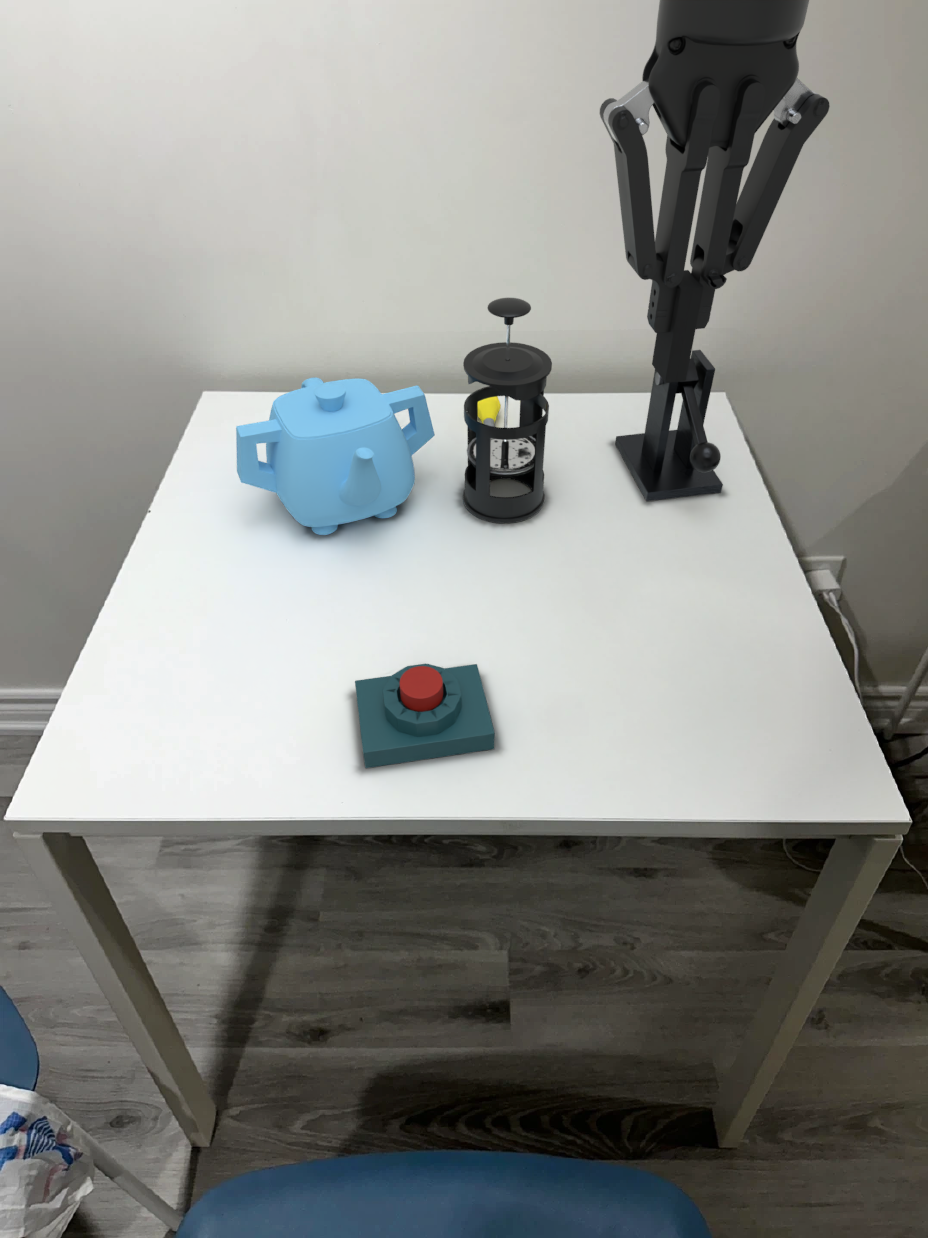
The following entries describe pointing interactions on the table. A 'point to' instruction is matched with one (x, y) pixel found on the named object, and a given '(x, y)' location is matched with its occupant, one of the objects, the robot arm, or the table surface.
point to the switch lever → (697, 425)
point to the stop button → (421, 688)
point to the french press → (506, 448)
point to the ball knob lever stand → (669, 442)
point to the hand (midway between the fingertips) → (668, 372)
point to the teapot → (336, 451)
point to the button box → (423, 719)
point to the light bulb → (488, 410)
